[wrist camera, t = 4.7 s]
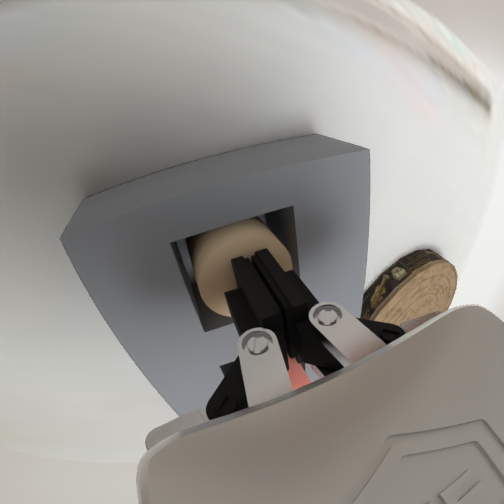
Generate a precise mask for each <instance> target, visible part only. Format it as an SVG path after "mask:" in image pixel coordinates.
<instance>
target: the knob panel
mask: <svg viewBox="0 0 504 504" xmlns="http://www.w3.org/2000/svg"><path fill="white" fill-rule="evenodd" d="M255 216H258V217H259V218H260V219H261V221H262V222H263V223H264V224H265V225H266V226H267V227H268V228H269V229H270V231H271V232H272V233H273V234H274V235H275V236H276V237H277V238H278V240H279V241H280V242H281V243H282V244H283V245H284V246H285V248H286V249H287V250H288V252H289V254H290V256H291V259H292V270H293V271H294V272H295V273H296V274H297V275H298V276H299V278H300V279H301V280H302V281H303V283H304V284H305V285H306V286H307V288H308V289H309V290H310V291H311V293H312V294H313V295H314V297H315V298H316V299H317V300H318V302H319V303H321V302H334V303H338V304H339V305H341V306H342V307H344V308H345V309H346V310H347V311H348V312H349V313H351V314H352V315H353V316H354V317H355V318H360V317H361V309H362V302H363V293H364V285H365V275H366V264H367V252H368V237H369V216H370V149H367V148H364V147H360V146H357V145H354V144H351V143H347V142H344V141H340V140H337V139H333V138H330V137H326V136H322V135H318V134H313V135H307V136H301V137H296V138H290V139H285V140H280V141H275V142H270V143H265V144H261V145H256V146H252V147H247V148H243V149H239V150H234V151H230V152H226V153H222V154H218V155H214V156H211V157H207V158H203V159H200V160H196V161H192V162H189V163H186V164H182V165H179V166H175V167H172V168H169V169H166V170H162V171H159V172H156V173H153V174H150V175H147V176H144V177H141V178H138V179H135V180H132V181H130V182H127V183H124V184H121V185H118V186H116V187H113V188H110V189H108V190H105V191H102V192H100V193H97V194H95V195H92V196H90V197H87V198H85V199H84V200H83V201H82V203H81V205H80V206H79V208H78V209H77V211H76V212H75V214H74V215H73V217H72V219H71V220H70V222H69V223H68V225H67V227H66V228H65V230H64V232H63V233H62V235H61V237H60V240H61V242H62V244H63V246H64V248H65V251H66V253H67V255H68V256H69V258H70V260H71V262H72V264H73V266H74V268H75V270H76V272H77V274H78V275H79V277H80V279H81V281H82V283H83V284H84V286H85V288H86V290H87V291H88V293H89V295H90V297H91V298H92V300H93V302H94V303H95V305H96V307H97V308H98V310H99V311H100V313H101V315H102V316H103V318H104V319H105V321H106V322H107V324H108V325H109V327H110V328H111V330H112V331H113V333H114V334H115V336H116V337H117V339H118V340H119V342H120V343H121V345H122V346H123V347H124V349H125V350H126V352H127V353H128V354H129V356H130V357H131V358H132V360H133V361H134V362H135V364H136V365H137V366H138V368H139V369H140V370H141V372H142V373H143V374H144V375H145V377H146V378H147V379H148V380H149V382H150V383H151V384H152V385H153V387H154V388H155V389H156V390H157V391H158V393H159V394H160V395H161V396H162V397H163V399H164V400H165V401H166V402H167V403H168V404H169V406H170V407H171V408H172V409H173V410H174V411H175V412H176V413H177V414H178V416H179V417H180V416H182V415H184V414H186V413H188V412H190V411H192V410H194V409H196V408H197V410H200V409H202V408H203V407H205V406H206V405H207V403H208V401H209V399H210V398H211V396H212V395H213V393H214V392H215V390H216V389H217V387H218V386H219V384H220V383H221V381H222V380H223V378H224V377H225V375H226V374H227V372H228V371H229V369H230V366H229V363H230V362H233V361H235V360H236V358H237V357H238V355H239V353H238V348H237V342H238V340H239V338H240V337H239V335H238V332H237V330H236V327H235V325H234V322H233V320H232V317H229V316H224V315H221V314H218V313H216V312H214V311H213V310H211V309H210V308H209V307H208V306H207V305H206V304H205V302H204V301H203V299H202V297H201V295H200V291H199V288H198V285H197V281H196V278H195V274H194V270H193V267H192V263H191V260H190V256H189V252H188V248H187V244H186V238H187V237H190V236H193V235H196V234H199V233H202V232H206V231H209V230H212V229H215V228H218V227H222V226H225V225H228V224H232V223H235V222H238V221H241V220H245V219H248V218H251V217H255ZM300 364H301V365H302V367H303V369H304V371H305V372H306V374H307V376H308V377H309V379H310V381H311V382H314V381H316V380H319V379H320V378H319V377H318V375H317V374H316V373H315V372H314V371H313V369H312V368H311V365H310V364H307V363H303V362H301V363H300Z"/></svg>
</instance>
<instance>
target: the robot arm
mask: <svg viewBox="0 0 504 504" xmlns="http://www.w3.org/2000/svg"><path fill="white" fill-rule="evenodd" d="M251 259H252V263H251V261H250V259H249V258H248V257H247V258H244V257H243V256H240V257H237V258H234V259H231V264H232V268H233V272H234V276H235V279H236V283H237V287H238V288H236V289H233V290H230V291H227V292H224V295H225V298H226V302H227V305H228V308H229V311H230V314H231V317H232V320H233V322H234V325H235V327H236V330H237V332H238V335H239V337H240V338H239V340H238V342H237V348H238V353H239V355H238V357H237V358H236V360H235V361H234V363H233V364H232V366H231V367H230V369H229V371H228V372H227V374H226V375H225V377H224V378H223V380H222V381H221V383H220V384H219V386H218V387H217V389H216V390H215V392H214V393H213V395H212V396H211V398H210V399H209V401H208V403H207V405H206V406H205V407H203V408H202V409H200V410H197V408H196V409H194V410H192V411H190V412H188V413H186V414H184V415H182V416H180V417H178V418H176V419H174V420H172V421H170V422H168V423H166V424H164V425H162V426H159V427H157V428H155V429H154V430H152V431H151V432H149V434H148V435H147V437H146V441H145V444H146V448H147V452H146V453H145V454H144V456H143V457H142V458H141V460H140V462H139V464H138V468H137V477H136V479H137V480H136V483H137V494H138V502H139V504H504V322H502V321H501V320H500V319H499V318H498V317H497V316H495V315H494V314H493V313H492V312H490V311H489V310H487V309H486V308H484V307H482V306H479V305H475V304H471V305H463V306H458V307H455V308H452V309H449V310H446V311H444V312H439V311H436V312H432V313H429V314H426V315H423V316H420V317H417V318H414V319H411V320H408V321H404V322H401V323H400V325H399V326H398V325H395V324H391V323H385V322H379V321H373V320H366V319H361V318H355V317H354V316H353V315H352V314H351V313H349V312H348V311H347V310H346V309H345V308H344V307H342V306H341V305H339V304H338V303H334V302H321V303H319V302H318V300H317V299H316V298H315V297H314V295H313V294H312V293H311V291H310V290H309V289H308V288H307V286H306V285H305V284H304V283H303V281H302V280H301V279H300V278H299V276H298V275H297V274H296V273H295V272H294V271H293V270H289V271H286V272H285V271H284V270H283V269H282V267H281V266H280V265H279V263H278V262H277V261H276V259H275V258H274V257H273V255H272V254H271V253H270V251H269V250H268V249H267V248H265V249H262V250H258V251H255V255H253V256H251ZM287 353H288V355H289V357H290V358H291V359H293V358H295V359H296V361H297V362H298V364H299V363H301V362H303V363H307V364H310V365H311V368H312V369H313V371H314V372H315V373H316V374H317V375H318V377H319V378H320V379H319V380H316V381H314V382H312V383H310V384H307V385H305V386H303V387H300V388H298V389H296V390H293V388H292V385H291V381H290V378H289V375H288V370H289V363H288V355H287Z"/></svg>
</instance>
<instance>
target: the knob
mask: <svg viewBox="0 0 504 504" xmlns="http://www.w3.org/2000/svg"><path fill="white" fill-rule="evenodd" d="M186 244H187V248H188V252H189V256H190V260H191V263H192V267H193V270H194V274H195V278H196V281H197V285H198V288H199V291H200V295H201V297H202V299H203V301H204V302H205V304H206V305H207V306H208V307H209V308H210V309H211V310H213V311H214V312H216V313H218V314H221V315H224V316H229V317H231V314H230V311H229V308H228V305H227V302H226V298H225V295H224V292H227V291H230V290H233V289H236V288H238V287H237V283H236V279H235V276H234V272H233V268H232V264H231V259H234V258H237V257H240V256H243V257H244V258H247V257H248V258H249V259H250V261H251V263H252V259H251V256H253V255H255V251H258V250H262V249H265V248H267V249H268V250H269V251H270V253H271V254H272V255H273V257H274V258H275V259H276V261H277V262H278V263H279V265H280V266H281V267H282V269H283V270H284V271H285V272H286V271H289V270H292V259H291V256H290V254H289V252H288V250H287V249H286V248H285V246H284V245H283V244H282V243H281V242H280V241H279V240H278V238H277V237H276V236H275V235H274V234H273V233H272V232H271V231H270V229H269V228H268V227H267V226H266V225H265V224H264V223H263V222H262V221H261V219H260V218H259V217H258V216H255V217H251V218H248V219H245V220H241V221H238V222H235V223H232V224H228V225H225V226H222V227H218V228H215V229H212V230H209V231H206V232H202V233H199V234H196V235H193V236H190V237H187V238H186Z"/></svg>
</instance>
